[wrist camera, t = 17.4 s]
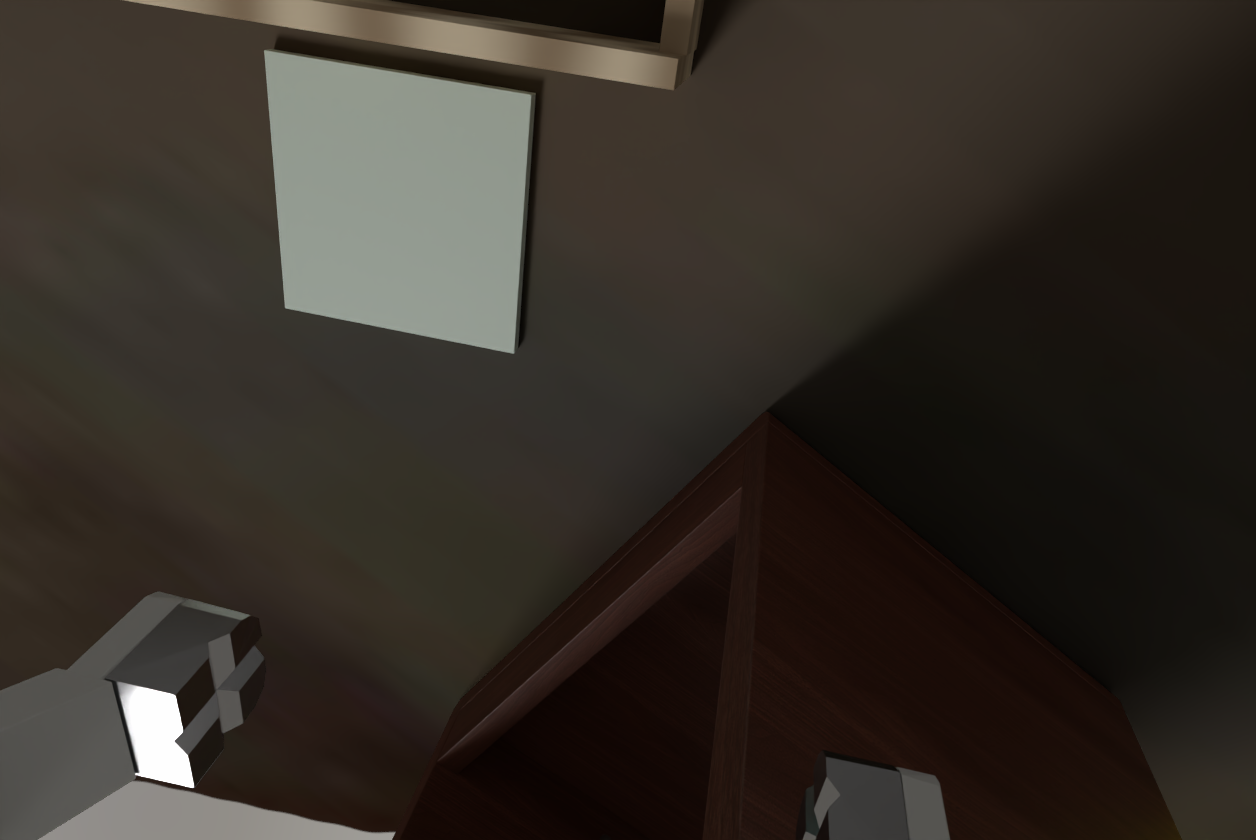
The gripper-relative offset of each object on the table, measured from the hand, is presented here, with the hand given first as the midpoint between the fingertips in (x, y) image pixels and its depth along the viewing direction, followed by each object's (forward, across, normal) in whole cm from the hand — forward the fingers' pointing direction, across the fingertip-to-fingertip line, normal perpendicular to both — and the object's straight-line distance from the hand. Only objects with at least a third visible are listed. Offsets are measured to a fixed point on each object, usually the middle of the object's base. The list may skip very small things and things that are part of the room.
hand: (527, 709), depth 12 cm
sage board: (+34, +17, +4) cm, 38 cm away
